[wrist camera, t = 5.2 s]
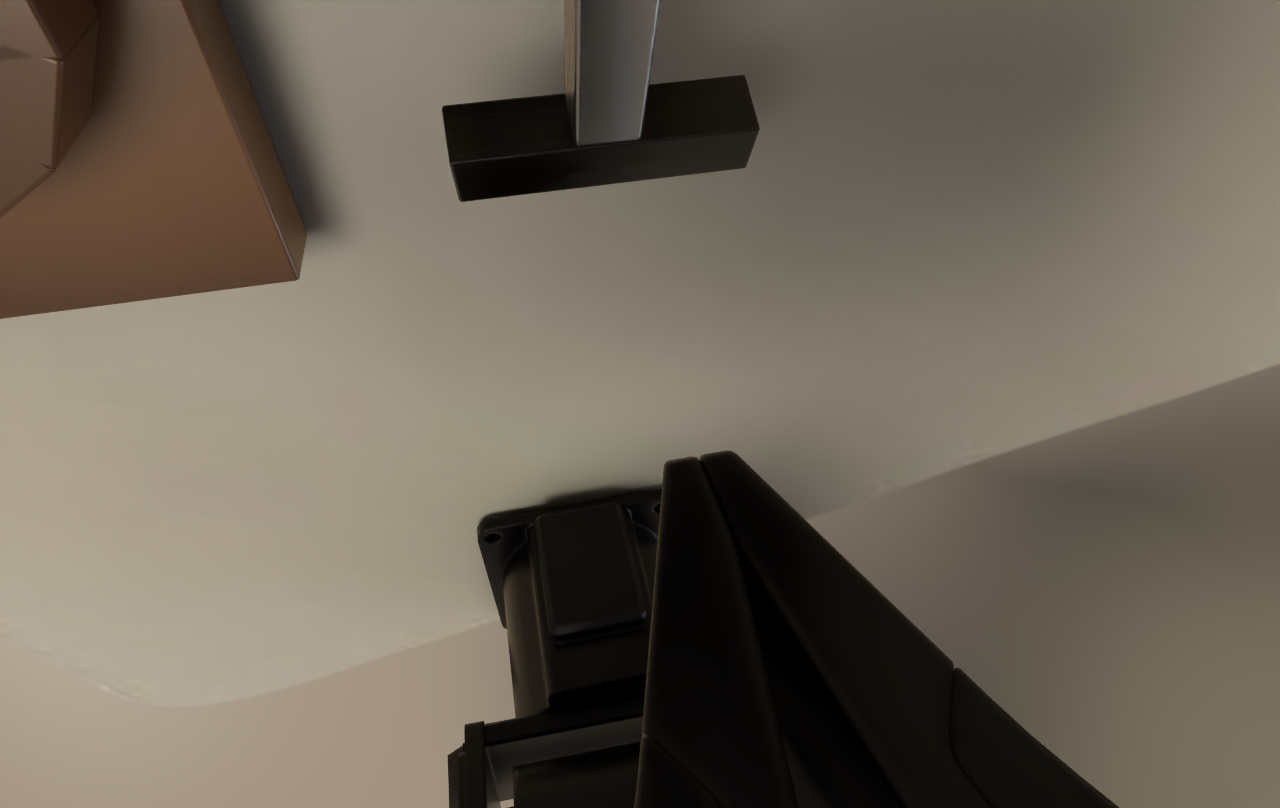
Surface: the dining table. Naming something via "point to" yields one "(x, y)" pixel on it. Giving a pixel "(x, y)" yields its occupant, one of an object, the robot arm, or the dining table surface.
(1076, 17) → the dining table surface
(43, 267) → the button block
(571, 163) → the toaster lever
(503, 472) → the dining table surface
